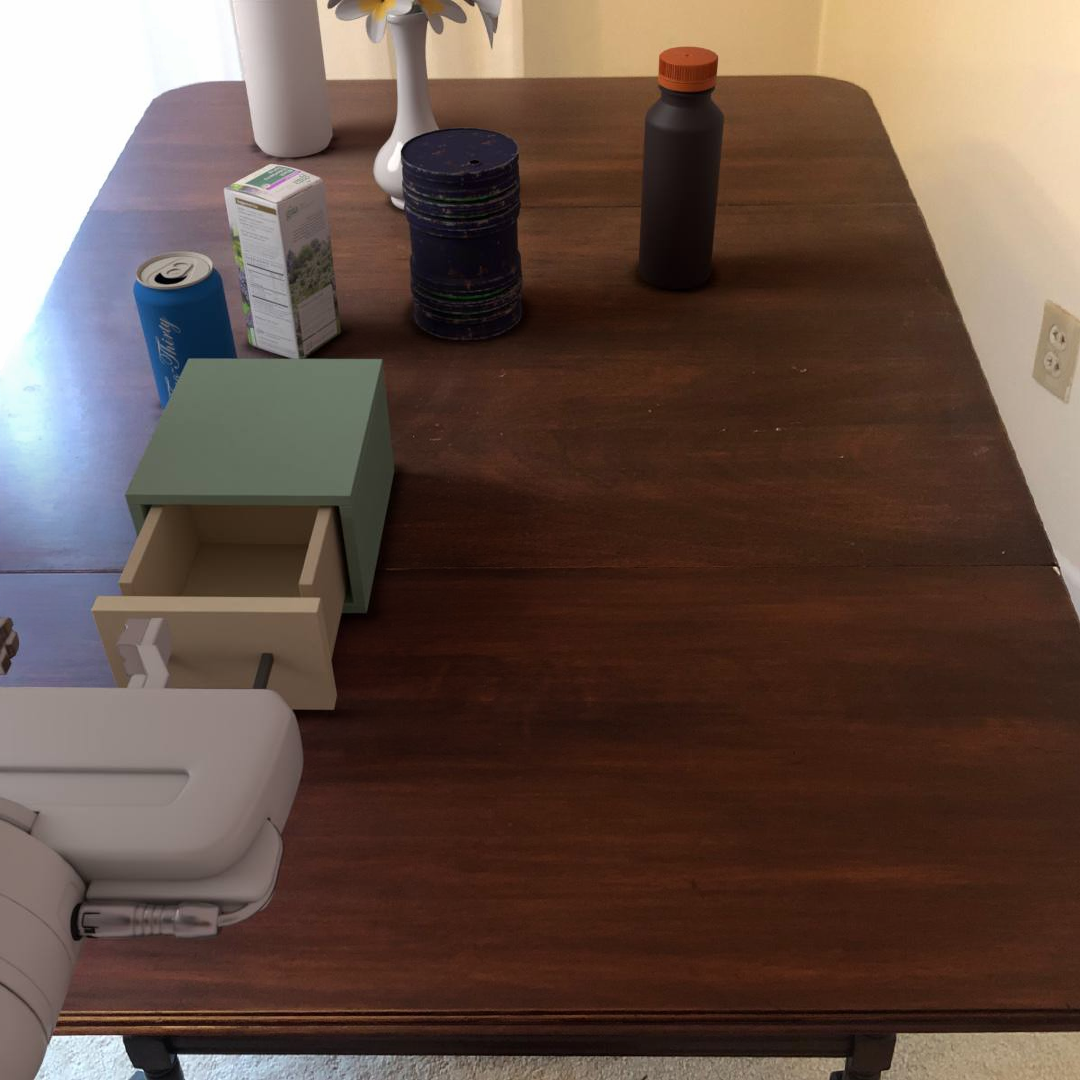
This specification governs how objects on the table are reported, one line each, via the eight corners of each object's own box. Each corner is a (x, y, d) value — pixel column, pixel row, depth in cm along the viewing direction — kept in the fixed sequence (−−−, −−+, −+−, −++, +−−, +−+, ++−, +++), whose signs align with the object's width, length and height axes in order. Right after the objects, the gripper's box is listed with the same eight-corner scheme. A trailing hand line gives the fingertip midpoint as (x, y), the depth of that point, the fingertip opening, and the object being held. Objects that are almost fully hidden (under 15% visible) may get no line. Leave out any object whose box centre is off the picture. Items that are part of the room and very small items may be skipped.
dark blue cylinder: (395, 301, 111) (380, 140, 101) (493, 277, 114) (487, 119, 105) (440, 351, 104) (428, 183, 94) (542, 324, 107) (541, 159, 98)
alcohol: (260, 131, 143) (214, -161, 124) (336, 128, 143) (301, -163, 124) (251, 160, 136) (201, -143, 117) (330, 158, 136) (293, -146, 117)
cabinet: (366, 613, 79) (350, 495, 73) (157, 612, 79) (124, 494, 73) (394, 470, 91) (382, 358, 85) (213, 469, 91) (188, 358, 85)
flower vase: (522, 218, 124) (517, -47, 108) (339, 231, 122) (307, -37, 106) (507, 168, 134) (500, -82, 118) (337, 179, 132) (307, -74, 116)
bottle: (630, 286, 113) (639, 65, 100) (647, 253, 118) (658, 39, 105) (702, 296, 111) (721, 72, 98) (717, 262, 116) (736, 46, 103)
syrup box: (291, 317, 109) (267, 159, 99) (344, 334, 106) (324, 174, 97) (248, 346, 105) (219, 184, 96) (302, 364, 103) (277, 200, 93)
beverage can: (148, 422, 96) (112, 284, 88) (185, 379, 101) (155, 245, 93) (224, 432, 95) (194, 294, 87) (258, 388, 100) (233, 253, 92)
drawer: (322, 767, 68) (303, 668, 63) (101, 764, 68) (65, 666, 63) (367, 550, 82) (354, 456, 77) (184, 548, 83) (160, 454, 78)
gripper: (247, 877, 36) (322, 570, 47) (-431, 868, 37) (-204, 567, 47) (279, 992, 40) (341, 685, 51) (-333, 982, 41) (-144, 681, 51)
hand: (74, 628), depth 49 cm, fingers open, 5 cm apart
